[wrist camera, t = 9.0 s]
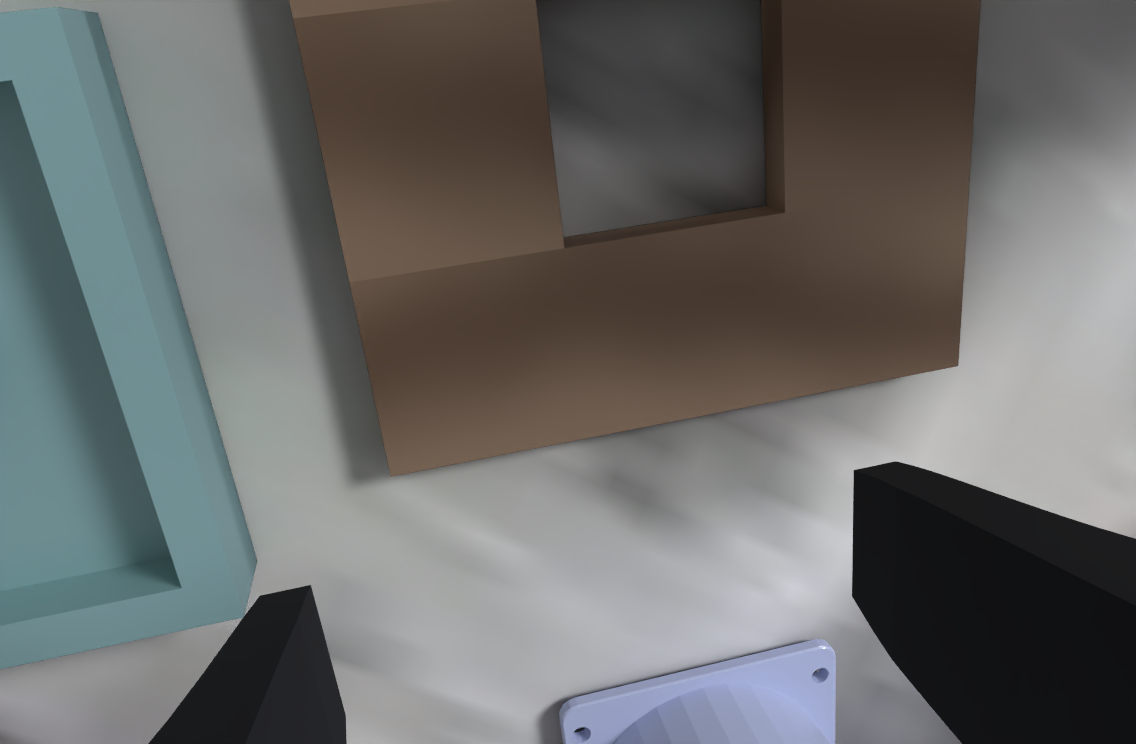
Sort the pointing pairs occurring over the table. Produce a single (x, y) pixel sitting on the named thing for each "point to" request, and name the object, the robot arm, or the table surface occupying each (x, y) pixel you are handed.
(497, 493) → the table surface
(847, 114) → the walnut socket
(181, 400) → the teal tray
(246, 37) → the table surface
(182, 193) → the table surface
